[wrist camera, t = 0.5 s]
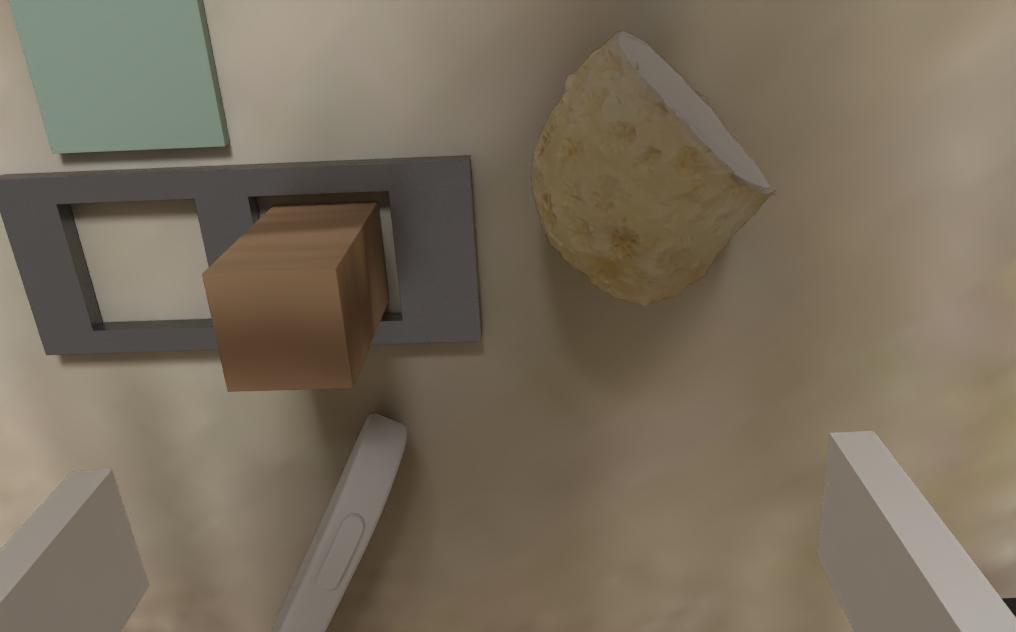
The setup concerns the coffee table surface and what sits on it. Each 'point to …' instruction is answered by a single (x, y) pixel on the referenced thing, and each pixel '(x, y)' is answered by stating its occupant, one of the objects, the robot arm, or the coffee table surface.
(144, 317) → the coffee table surface
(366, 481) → the game controller
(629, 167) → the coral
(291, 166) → the grey slotted board
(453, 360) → the coffee table surface
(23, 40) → the felt pad
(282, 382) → the walnut block
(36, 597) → the robot arm
